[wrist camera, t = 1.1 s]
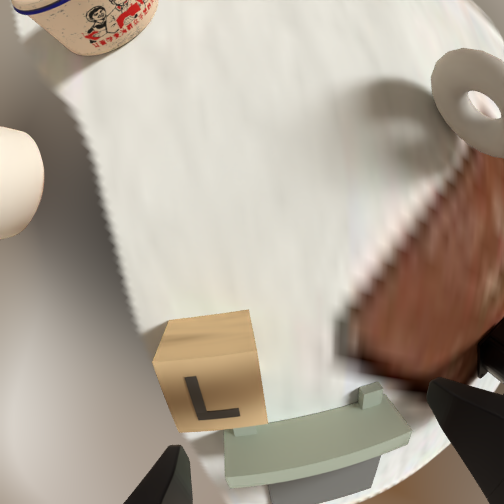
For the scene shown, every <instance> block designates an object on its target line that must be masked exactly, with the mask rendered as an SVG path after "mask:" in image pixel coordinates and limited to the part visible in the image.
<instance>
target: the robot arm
mask: <svg viewBox="0 0 504 504" xmlns="http://www.w3.org/2000/svg"><path fill="white" fill-rule="evenodd" d="M487 372H489V373H490V374H492V375H493V376H494V377H495V378H497V379H498V380H499V381H501V382H502V383H503V384H504V319H503V320H502V321H501V322H500V323H499V324H498V325H497V326H496V327H495V328H494V329H493V330H492V331H491V332H490V333H489V334H488V335H487V336H486V337H485V338H484V339H483V340H482V341H481V342H480V343H479V344H478V377H479V378H482V377H483V376H484V375H485V374H486V373H487ZM427 402H428V404H429V406H430V408H431V409H432V411H433V413H434V415H435V417H436V419H437V421H438V423H439V425H440V427H441V428H442V430H443V432H444V433H445V435H446V436H447V438H448V439H449V441H450V442H451V443H452V445H453V446H454V448H455V449H456V451H457V452H458V454H459V455H460V457H461V459H462V460H463V462H464V463H465V465H466V466H467V468H468V469H469V471H470V472H471V474H472V475H473V477H474V479H475V480H476V482H477V483H478V485H479V487H480V488H481V490H482V492H483V493H484V495H485V496H486V498H487V500H488V502H489V503H490V504H504V394H503V395H500V394H497V393H493V392H490V391H486V390H483V389H479V388H476V387H472V386H469V385H465V384H462V383H459V382H455V381H452V380H449V379H446V378H442V377H437V378H435V379H433V380H431V381H430V383H429V388H428V392H427ZM192 500H193V498H192V485H191V473H190V461H189V458H188V456H187V454H186V453H185V451H184V449H183V447H182V446H181V445H170V446H168V448H167V449H166V450H165V452H164V453H163V454H162V455H161V457H160V458H159V459H158V461H157V462H156V463H155V465H154V466H153V467H152V469H151V470H150V471H149V472H148V474H147V475H146V476H145V477H144V479H143V480H142V481H141V483H140V484H139V485H138V486H137V487H136V489H135V490H134V491H133V492H132V494H131V495H130V496H129V497H128V499H127V500H126V501H125V502H124V503H123V504H193V503H192V502H193V501H192Z"/></svg>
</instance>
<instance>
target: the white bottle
mask: <svg viewBox="0 0 504 504" xmlns="http://www.w3.org/2000/svg"><path fill="white" fill-rule="evenodd" d="M43 186H44V168H43V162H42V158H41V155H40V152H39V149H38V148H37V145H36V143H35V141H34V140H33V139H32V138H31V137H30V136H29V135H28V134H26V133H25V132H23V131H19V130H14V129H10V128H6V127H1V126H0V240H1V239H5V238H8V237H12V236H15V235H17V234H18V233H20V232H21V231H22V230H24V229H25V228H26V227H27V225H28V224H29V223H30V222H31V220H32V218H33V216H34V214H35V212H36V210H37V208H38V206H39V203H40V200H41V197H42V193H43Z"/></svg>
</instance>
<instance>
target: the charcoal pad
mask: <svg viewBox="0 0 504 504" xmlns="http://www.w3.org/2000/svg"><path fill="white" fill-rule="evenodd" d="M380 457H381V455H380V456H377V457H374V458H371V459H368V460H366V461H363V462H360V463H357V464H353V465H350V466H347V467H344V468H340V469H337V470H333V471H329V472H326V473H322V474H318V475H314V476H309V477H305V478H300V479H295V480H290V481H285V482H279V483H273V484H268V487H269V492H270V496H271V501H272V504H319V503H323V502H326V501H330V500H334V499H337V498H341V497H344V496H348V495H351V494H354V493H357V492H360V491H363V490H366V489H369V488H371V486H372V483H373V480H374V477H375V473H376V470H377V467H378V464H379V460H380Z"/></svg>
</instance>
